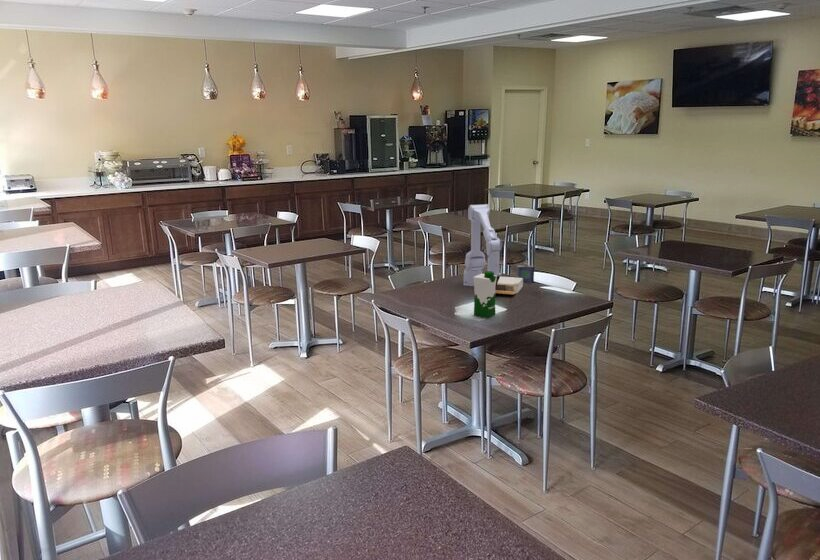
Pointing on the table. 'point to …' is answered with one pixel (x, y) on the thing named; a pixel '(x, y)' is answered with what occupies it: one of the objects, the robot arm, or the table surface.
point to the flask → (526, 273)
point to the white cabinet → (509, 284)
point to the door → (505, 292)
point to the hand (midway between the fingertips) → (493, 291)
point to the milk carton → (484, 294)
